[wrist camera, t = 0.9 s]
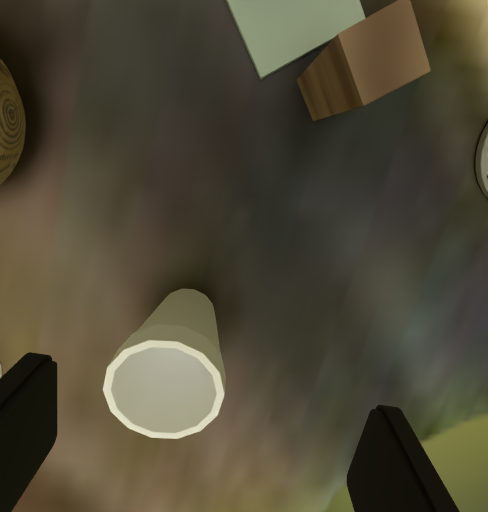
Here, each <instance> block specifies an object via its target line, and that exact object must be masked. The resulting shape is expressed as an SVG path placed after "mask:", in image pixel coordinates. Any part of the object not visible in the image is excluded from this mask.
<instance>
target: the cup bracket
mask: <svg viewBox="0 0 488 512" xmlns="http://www.w3.org/2000/svg"><path fill="white" fill-rule="evenodd" d="M225 1H226V3H227V5H228V8H229V10H230V12H231V14H232V17H233V19H234V21H235V24H236V26H237V28H238V30H239V33H240V35H241V37H242V40H243V42H244V44H245V46H246V49H247V51H248V53H249V56H250V58H251V60H252V62H253V65H254V67H255V69H256V72H257V74H258V76H259V78H260V80H261V79H263V78H265V77H267V76H269V75H270V74H272V73H274V72H276V71H278V70H279V69H281V68H283V67H285V66H287V65H288V64H290V63H292V62H294V61H296V60H298V59H299V58H301V57H303V56H305V55H307V54H308V53H310V52H312V51H314V50H316V49H317V48H319V47H321V46H323V45H325V44H326V43H328V42H330V41H332V40H333V38H334V37H335V36H336V35H337V34H338V33H340V32H342V31H344V30H345V29H347V28H349V27H351V26H353V25H354V24H356V23H358V22H360V21H362V20H363V19H365V15H364V12H363V9H362V6H361V3H360V0H225Z"/></svg>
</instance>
